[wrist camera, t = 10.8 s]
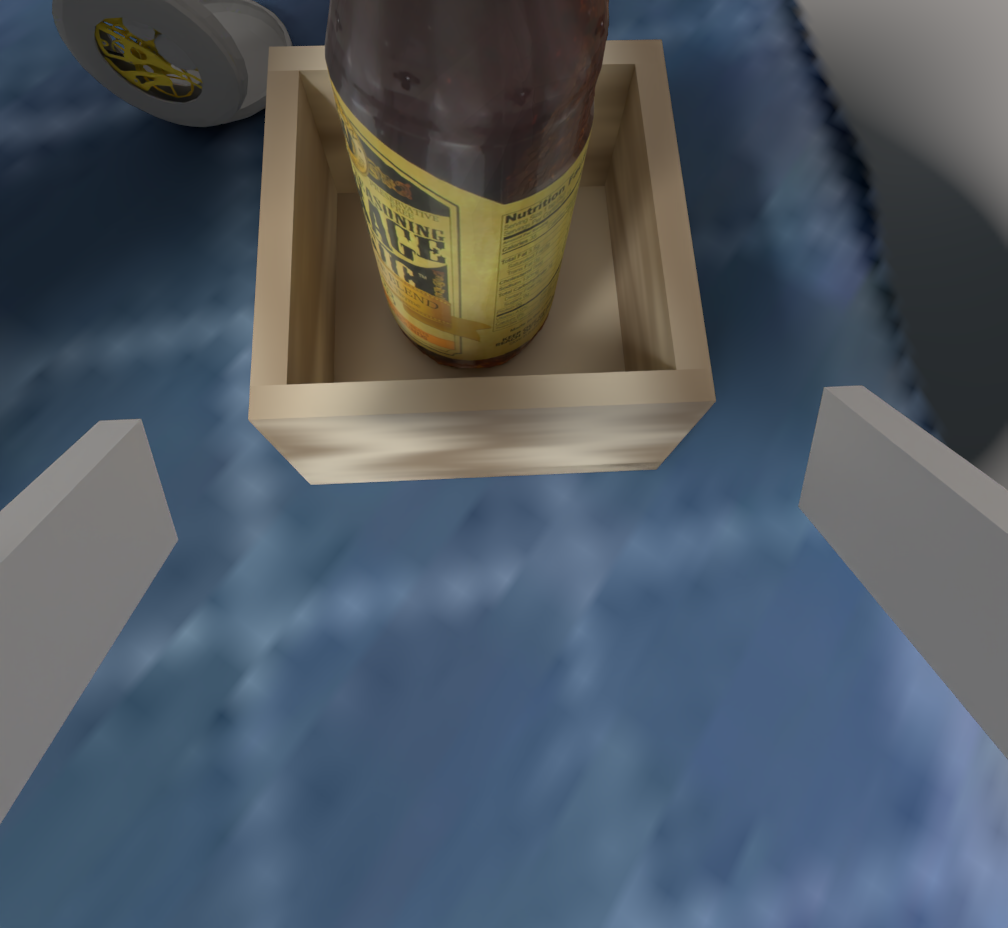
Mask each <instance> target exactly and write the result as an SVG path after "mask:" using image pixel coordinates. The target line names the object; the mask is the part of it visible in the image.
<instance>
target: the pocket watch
mask: <svg viewBox="0 0 1008 928" xmlns="http://www.w3.org/2000/svg"><path fill="white" fill-rule="evenodd" d="M52 14H53V18H54V22H55V25H56V27H57V30H58V32H59V34H60V37H61V38H62V40H63V41H64V43H65V44H66V46H67V47H68V48H69V50H70V51H71V53H72V54H73V55H74V57H75V58H76V59H77V61H78V62H79V63H80V64H81V66H82V67H83V68H84V69H85V70H86V71H87V72H89V73H90V74H91V75H92V76H93V77H94V78H95V79H96V80H97V81H98V82H99V83H100V84H102V85H103V86H104V87H106V88H107V89H108V90H110V91H111V92H112V93H114V94H115V95H116V96H118V97H119V98H121V99H123V100H124V101H126V102H127V103H129V104H130V105H132V106H135V107H137V108H139V109H141V110H143V111H145V112H147V113H149V114H151V115H153V116H155V117H157V118H160V119H163V120H166V121H169V122H172V123H176V124H181V125H186V126H192V127H208V126H215V125H220V124H226V123H229V122H233V121H237V120H240V119H244V118H247V117H250V116H252V115H254V114H256V113H257V112H259V111H261V110H262V109H264V108H266V93H267V75H268V57H269V47H282V46H292V42H291V39H290V36H289V34H288V32H287V30H286V28H285V26H284V24H283V23H282V22H281V21H280V20H279V18H278V17H277V16H276V15H275V14H274V13H273V12H271V11H270V10H268V9H267V8H265V7H263V6H262V5H260V4H258V3H257V2H255V1H252V0H53V3H52ZM104 21H105V22H108V23H111V24H114V25H112V26H109V25H107V24H105V23H104ZM114 26H119V27H122V28H123V29H124V30H125V31H124V30H120V29H117V28H115V27H114ZM107 28H108V29H107ZM109 29H111V30H112V31H111V30H109ZM113 30H114V31H117V32H119V33H121V34H122V35H123V36H125V38H124V37H122V36H120V35H118V34H116V33H115V32H114V31H113ZM109 34H110V35H112V36H114V37H115V38H116V40H115V41H114V40H112V38H111V37H110V35H109ZM125 34H126V35H125ZM130 36H131V37H133V38H135V39H137V40H136V42H137V43H136V42H134V41H133V40H132V39H130V38H129V37H130ZM117 38H118V39H120V40H118V39H117ZM128 39H129V40H128ZM131 41H132V42H131ZM139 41H140V42H141V43H140V45H139ZM115 42H119V43H121V44H123V46H124V48H125V49H123V48H122V47H120V46H119V45H118V44H116V43H115ZM119 48H120V49H122V50H123V51H124V53H123V52H122V51H121V50H120V49H119ZM130 50H131V51H130ZM131 52H132V53H131Z"/></svg>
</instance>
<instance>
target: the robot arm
mask: <svg viewBox="0 0 1008 928" xmlns="http://www.w3.org/2000/svg"><path fill="white" fill-rule="evenodd" d="M798 507H799V508H800V509H801V510H802V511H803V513H804V514H805V515H806V516H807V517H808V519H809V520H810V521H811V522H812V524H813V525H814V526H815V527H816V528H817V530H818V531H819V532H820V533H821V534H822V536H823V537H824V538H825V539H826V540H827V542H828V543H829V544H830V545H831V546H832V548H833V549H834V550H835V551H836V553H837V554H838V555H839V556H840V557H841V559H842V560H843V561H844V562H845V563H846V565H847V566H848V567H849V568H850V569H851V571H852V572H853V573H854V574H855V575H856V577H857V578H858V579H859V580H860V582H861V583H862V584H863V585H864V586H865V588H866V589H867V590H868V591H869V592H870V594H871V595H872V596H873V597H874V598H875V600H876V601H877V602H878V603H879V604H880V606H881V607H882V608H883V609H884V611H885V612H886V613H887V614H888V615H889V617H890V618H891V619H892V620H893V621H894V623H895V624H896V625H897V626H898V627H899V629H900V630H901V631H902V632H903V633H904V635H905V636H906V637H907V638H908V640H909V641H910V642H911V643H912V644H913V646H914V647H915V648H916V649H917V650H918V652H919V653H920V654H921V655H922V656H923V658H924V659H925V660H926V661H927V662H928V664H929V665H930V666H931V667H932V669H933V670H934V671H935V672H936V673H937V675H938V676H939V677H940V678H941V679H942V681H943V682H944V683H945V684H946V685H947V687H948V688H949V689H950V690H951V691H952V693H953V694H954V695H955V696H956V698H957V699H958V700H959V701H960V702H961V704H962V705H963V706H964V707H965V708H966V710H967V711H968V712H969V713H970V714H971V716H972V717H973V718H974V719H975V720H976V722H977V723H978V724H979V725H980V727H981V728H982V729H983V730H984V731H985V733H986V734H987V735H988V736H989V737H990V739H991V740H992V741H993V742H994V743H995V745H996V746H997V747H998V748H999V749H1000V751H1001V752H1002V753H1003V754H1004V756H1005V757H1006V758H1007V759H1008V490H1007V489H1005V488H1004V487H1003V486H1001V485H1000V484H999V483H997V482H996V481H994V480H993V479H991V478H990V477H989V476H987V475H986V474H985V473H983V472H982V471H980V470H979V469H978V468H976V467H975V466H974V465H972V464H971V463H969V462H968V461H967V460H965V459H964V458H962V457H961V456H960V455H958V454H957V453H955V452H954V451H952V450H951V449H950V448H948V447H947V446H946V445H944V444H943V443H942V442H940V441H939V440H937V439H936V438H935V437H933V436H932V435H930V434H929V433H928V432H926V431H925V430H923V429H922V428H921V427H919V426H918V425H917V424H915V423H914V422H912V421H911V420H910V419H908V418H907V417H905V416H904V415H903V414H901V413H900V412H898V411H897V410H896V409H894V408H893V407H891V406H890V405H889V404H887V403H886V402H885V401H883V400H882V399H880V398H879V397H878V396H876V395H875V394H873V393H872V392H871V391H869V390H868V389H866V388H865V387H864V386H862V385H861V386H839V387H824V390H823V394H822V399H821V404H820V408H819V413H818V418H817V422H816V427H815V432H814V436H813V441H812V446H811V450H810V455H809V460H808V464H807V469H806V473H805V478H804V483H803V487H802V492H801V497H800V501H799V506H798ZM177 541H178V538H177V534H176V531H175V528H174V525H173V521H172V518H171V515H170V512H169V508H168V505H167V502H166V498H165V495H164V492H163V489H162V485H161V482H160V479H159V476H158V472H157V469H156V466H155V463H154V459H153V456H152V453H151V449H150V446H149V443H148V440H147V436H146V433H145V430H144V427H143V423H142V420H141V419H128V420H106V421H99V422H98V423H97V424H95V425H94V426H93V427H92V428H91V429H90V430H89V431H88V432H87V433H86V434H85V435H83V436H82V437H81V438H80V439H79V440H78V441H77V442H76V443H75V444H74V445H72V446H71V447H70V448H69V449H68V450H67V451H66V452H65V453H64V454H63V455H62V456H60V457H59V458H58V459H57V460H56V461H55V462H54V463H53V464H52V465H51V466H49V467H48V468H47V469H46V470H45V471H44V472H43V473H42V474H41V475H40V476H39V477H37V478H36V479H35V480H34V481H33V482H32V483H31V484H30V485H29V486H28V487H26V488H25V489H24V490H23V491H22V492H21V493H20V494H19V495H18V496H17V497H16V498H14V499H13V500H12V501H11V502H10V503H9V504H8V505H7V506H6V507H5V508H3V509H2V510H1V511H0V824H1V822H2V820H3V819H4V817H5V816H6V814H7V812H8V811H9V809H10V808H11V806H12V804H13V803H14V801H15V800H16V798H17V796H18V795H19V793H20V792H21V790H22V789H23V787H24V785H25V784H26V782H27V781H28V779H29V777H30V776H31V774H32V773H33V771H34V769H35V768H36V766H37V765H38V763H39V761H40V760H41V758H42V757H43V755H44V753H45V752H46V750H47V749H48V747H49V745H50V744H51V742H52V741H53V739H54V737H55V736H56V734H57V733H58V731H59V729H60V728H61V726H62V725H63V723H64V721H65V720H66V718H67V717H68V715H69V713H70V712H71V710H72V709H73V707H74V705H75V704H76V702H77V701H78V699H79V697H80V696H81V694H82V693H83V691H84V689H85V688H86V686H87V685H88V683H89V681H90V680H91V678H92V677H93V675H94V673H95V672H96V670H97V669H98V667H99V665H100V664H101V662H102V661H103V659H104V658H105V656H106V654H107V653H108V651H109V650H110V648H111V646H112V645H113V643H114V642H115V640H116V638H117V637H118V635H119V634H120V632H121V630H122V629H123V627H124V626H125V624H126V622H127V621H128V619H129V618H130V616H131V614H132V613H133V611H134V610H135V608H136V606H137V605H138V603H139V602H140V600H141V598H142V597H143V595H144V594H145V592H146V590H147V589H148V587H149V586H150V584H151V582H152V581H153V579H154V578H155V576H156V574H157V573H158V571H159V570H160V568H161V566H162V565H163V563H164V562H165V560H166V558H167V557H168V555H169V554H170V552H171V550H172V549H173V547H174V546H175V544H176V542H177Z"/></svg>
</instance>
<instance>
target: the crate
mask: <svg viewBox="0 0 1008 928" xmlns="http://www.w3.org/2000/svg"><path fill="white" fill-rule="evenodd" d="M715 402H716V397H715V391H714V384H713V377H712V371H711V364H710V358H709V351H708V344H707V338H706V331H705V324H704V318H703V311H702V304H701V298H700V291H699V285H698V278H697V271H696V265H695V258H694V251H693V245H692V238H691V231H690V225H689V218H688V212H687V205H686V198H685V192H684V185H683V178H682V172H681V165H680V158H679V152H678V145H677V139H676V132H675V125H674V119H673V112H672V105H671V99H670V92H669V85H668V79H667V72H666V66H665V59H664V52H663V46H662V40H609V41H606V45H605V51H604V57H603V63H602V68H601V71H600V74H599V77H598V79H597V83H596V86H595V96H594V119H593V126H592V130H591V135H590V139H589V143H588V148H587V152H586V157H585V161H584V166H583V170H582V174H581V179H580V183H579V188H578V192H577V197H576V201H575V205H574V210H573V214H572V219H571V223H570V227H569V232H568V236H567V241H566V245H565V249H564V254H563V258H562V263H561V268H560V272H559V277H558V281H557V285H556V290H555V294H554V299H553V302H552V306H551V309H550V311H549V315H548V318H547V320H546V321H545V323H544V325H543V327H542V329H541V330H540V331H539V332H538V333H537V335H536V336H535V337H534V339H533V340H532V341H531V343H530V344H529V345H528V346H527V347H526V348H525V349H524V350H522V351H521V353H519V354H517V355H516V356H515V357H513V358H511V359H510V360H509V361H507V362H506V363H504V364H502V365H497V366H494V367H491V368H455V367H450V366H445V365H441V364H438V363H437V362H435V361H434V360H432V359H431V358H429V357H428V356H427V355H425V354H423V353H422V352H421V351H420V350H419V349H418V348H416V347H415V346H414V345H413V343H412V342H411V341H410V340H409V339H408V338H407V337H406V336H405V335H404V334H403V332H402V330H401V329H400V328H399V326H398V323H397V322H396V320H395V318H394V316H393V315H392V313H391V310H390V308H389V306H388V303H387V299H386V296H385V292H384V288H383V284H382V280H381V276H380V272H379V268H378V265H377V261H376V257H375V254H374V250H373V246H372V242H371V238H370V234H369V233H368V231H367V224H366V221H365V217H364V212H363V208H362V206H361V199H360V195H359V193H358V189H357V186H356V182H355V178H354V174H353V169H352V165H351V160H350V157H349V154H348V151H347V148H346V141H345V137H344V133H343V130H342V126H341V122H340V119H339V116H338V112H337V109H336V104H335V98H334V93H333V90H332V86H331V82H330V78H329V74H328V70H327V65H326V60H325V46H282V47H269V57H268V75H267V93H266V111H265V129H264V147H263V165H262V183H261V201H260V219H259V237H258V255H257V273H256V291H255V309H254V327H253V345H252V363H251V381H250V398H249V416H248V420H249V421H250V422H251V423H252V424H253V425H254V426H255V427H256V428H257V429H258V430H259V431H260V432H261V434H262V435H263V436H264V437H265V438H266V439H267V440H268V441H269V442H270V443H271V444H272V445H273V446H274V447H275V448H276V449H277V450H278V451H279V452H280V453H281V454H282V455H283V456H284V457H285V458H286V459H287V460H288V461H289V463H290V464H291V465H292V466H293V467H294V468H295V469H296V470H297V471H298V472H299V473H300V474H301V475H302V476H303V477H304V478H305V479H306V480H307V481H308V482H309V483H310V484H311V485H315V484H337V483H360V482H383V481H405V480H428V479H450V478H473V477H496V476H518V475H541V474H564V473H586V472H609V471H631V470H654V469H657V468H658V467H659V466H660V465H661V463H662V462H663V461H664V460H665V459H666V458H667V457H668V455H669V454H670V453H671V452H672V451H673V450H674V449H675V447H676V446H677V445H678V444H679V443H680V442H681V441H682V439H683V438H684V437H685V436H686V435H687V434H688V433H689V431H690V430H691V429H692V428H693V427H694V426H695V425H696V423H697V422H698V421H699V420H700V419H701V418H702V417H703V415H704V414H705V413H706V412H707V411H708V410H709V409H710V407H711V406H712V405H713V404H714V403H715Z"/></svg>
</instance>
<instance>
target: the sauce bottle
mask: <svg viewBox="0 0 1008 928" xmlns="http://www.w3.org/2000/svg"><path fill="white" fill-rule="evenodd" d="M608 4H609V0H330V6H329V14H328V22H327V30H326V38H325V60H326V65H327V70H328V74H329V78H330V82H331V86H332V90H333V93H334V98H335V104H336V109H337V112H338V116H339V119H340V122H341V126H342V130H343V133H344V137H345V141H346V148H347V151H348V154H349V157H350V160H351V165H352V169H353V174H354V178H355V182H356V186H357V189H358V193H359V195H360V199H361V206H362V208H363V212H364V217H365V221H366V224H367V231H368V233H369V234H370V238H371V242H372V246H373V250H374V254H375V257H376V261H377V265H378V268H379V272H380V276H381V280H382V284H383V288H384V292H385V296H386V299H387V303H388V306H389V308H390V310H391V313H392V315H393V316H394V318H395V320H396V322H397V323H398V326H399V328H400V329H401V330H402V332H403V334H404V335H405V336H406V337H407V338H408V339H409V340H410V341H411V342H412V343H413V345H414V346H415V347H416V348H418V349H419V350H420V351H421V352H422V353H423V354H425V355H427V356H428V357H429V358H431V359H432V360H434V361H435V362H437V363H438V364H441V365H445V366H450V367H455V368H491V367H494V366H497V365H502V364H504V363H506V362H507V361H509V360H510V359H511V358H513V357H515V356H516V355H517V354H519V353H521V351H522V350H524V349H525V348H526V347H527V346H528V345H529V344H530V343H531V341H532V340H533V339H534V337H535V336H536V335H537V333H538V332H539V331H540V330H541V329H542V327H543V325H544V323H545V321H546V320H547V318H548V315H549V311H550V309H551V306H552V302H553V299H554V294H555V290H556V285H557V281H558V277H559V272H560V268H561V263H562V258H563V254H564V249H565V245H566V241H567V236H568V232H569V227H570V223H571V219H572V214H573V210H574V205H575V201H576V197H577V192H578V188H579V183H580V179H581V174H582V170H583V166H584V161H585V157H586V152H587V148H588V143H589V139H590V135H591V130H592V126H593V119H594V96H595V86H596V83H597V79H598V77H599V74H600V71H601V68H602V63H603V57H604V51H605V45H606V40H607V36H608V26H609V8H608Z"/></svg>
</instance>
